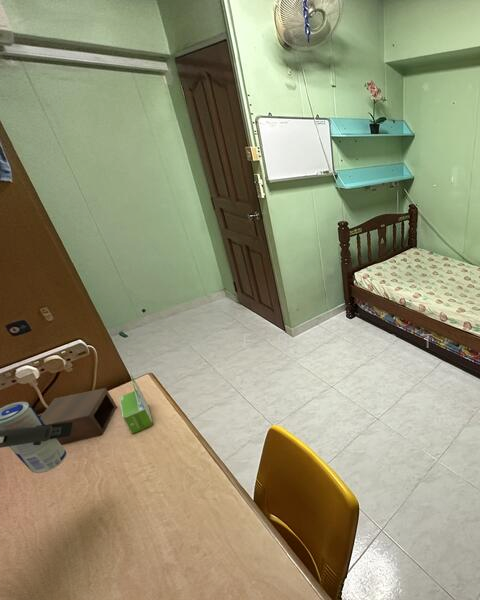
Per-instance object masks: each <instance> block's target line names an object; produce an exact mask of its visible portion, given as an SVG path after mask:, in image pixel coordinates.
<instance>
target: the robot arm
mask: <svg viewBox="0 0 480 600" xmlns="http://www.w3.org/2000/svg"><path fill="white" fill-rule="evenodd" d="M72 424H73V422H66V423H57V424H48V425H39V426H36V427H30V428H21V429H11V430H1V431H0V449H2V448H6V447H7V448H9V447H8V446H14V445H20V444H27V443H33V442H34V443H33V445H41V441H42V442H43V441H47V440H49V439H55V438H61V437H67V436H70V433H71V428H72Z"/></svg>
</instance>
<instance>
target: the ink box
mask: <svg viewBox="0 0 480 600" xmlns="http://www.w3.org/2000/svg"><path fill="white" fill-rule="evenodd" d="M129 375H130V379H131V382H132V387H133V390H134V391H131V392H128V393H126V394H123V395H120V396H119V397H118V399H119V405H120V410H121V415H122V419H123V421H124V423H125V424H126V426H127V428H128V430H129V432H130V433H131V435H133V434H136V433H138V432H141V431H143V430H145V429H147V428H149V427H151V426H153V425H154V421H153V418H152V414H151V410H150V406H149V403H148V401H147V400H146V397H145V396H144V394H143V391H142V390H141V388H140V386H139V384H138V382H137V381H136V379H135V378H134V376H133V375H132V373H131V372H129Z"/></svg>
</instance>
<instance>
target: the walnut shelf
mask: <svg viewBox="0 0 480 600" xmlns="http://www.w3.org/2000/svg"><path fill="white" fill-rule="evenodd" d="M117 407H118V405H117V404H116V402H115V400H114V399H113V398H112V396H111V394H110V393H109V390H108V389H107V387H103V388H98V389H93V390H88V391H84V392H79V393H74V394H69V395H64V396H60V397H54V398H53V400H52V401H51V402H50V403H49V405H48V406H47V408H46V409H45V410H44V411H43V413H42V414H41V415H40V416H39V418H40V419H41V420H42V421H43V423H44V424H45V425H48V424H57V423H66V422H73V424H72V428H71V433H70V436H67V437H61V438H56V439H57V440H58V441H59V443H60V444H61V445H62V446H63V445H67V444H71V443H75V442H78V441H83V440H87V439H91V438H95V437H99V436H103V434H104V432H105V431H106V429H107V427H108V425H109V423H110V421H111V420H112V417H113V415H114V414H115V411H116V409H117Z"/></svg>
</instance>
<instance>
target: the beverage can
mask: <svg viewBox="0 0 480 600" xmlns="http://www.w3.org/2000/svg"><path fill="white" fill-rule="evenodd" d="M39 425H45V424H44V423H43V421H42V420H41V419H40V416H39V415H38V413H37V412H36V411H35V410H34V408H33V407H32V406H31V405H30V404H29V403H28V402H27V401H18V402H12V403H9V404H7V405H4V406H2V407H0V431H1V430H11V429H21V428H30V427H36V426H39ZM33 443H34V442H33ZM33 443H27V444H20V445H14V446H8V447H7V448H9V449H10V451H12V452H13V453H14V455H15V456H16V457H17V458H18V459H19V460H20V461H21V462H22V463H23V464H24V465H25V466H26V467H27V468H28V469H29V471H30V472H32V473H33V474H43V473H48V472H50V471H52V470H54V469H56V468H57V467H59V466H60V465H61V464H62V463H63V462H64V461H65V459H66V457H67V455H68V453H67V451H66V449H65V447H64V446H63V444H62V445H61V444H60V443H59V441H58V440H57V439H56V438H55V439H49V440H47V441H43V442H42V441H41V445H33Z"/></svg>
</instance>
